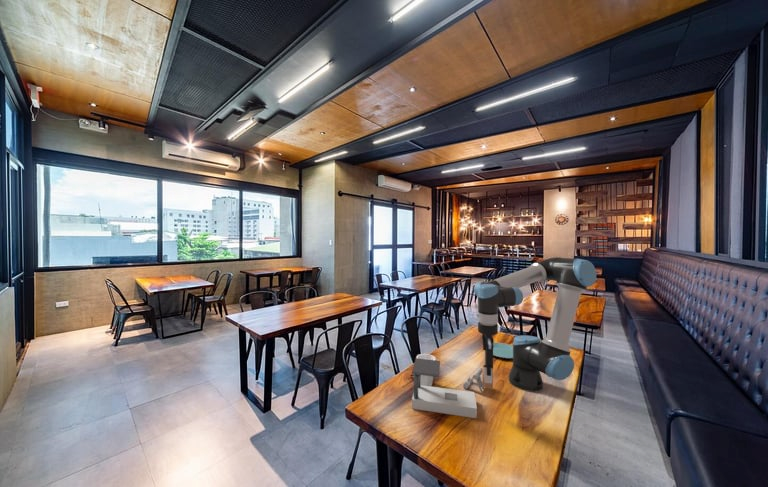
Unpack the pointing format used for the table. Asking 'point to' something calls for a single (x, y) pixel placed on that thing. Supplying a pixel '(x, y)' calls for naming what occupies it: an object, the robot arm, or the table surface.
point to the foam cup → (424, 379)
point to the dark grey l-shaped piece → (424, 372)
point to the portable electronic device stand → (478, 379)
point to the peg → (486, 385)
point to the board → (445, 401)
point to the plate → (503, 350)
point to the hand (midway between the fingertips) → (487, 379)
